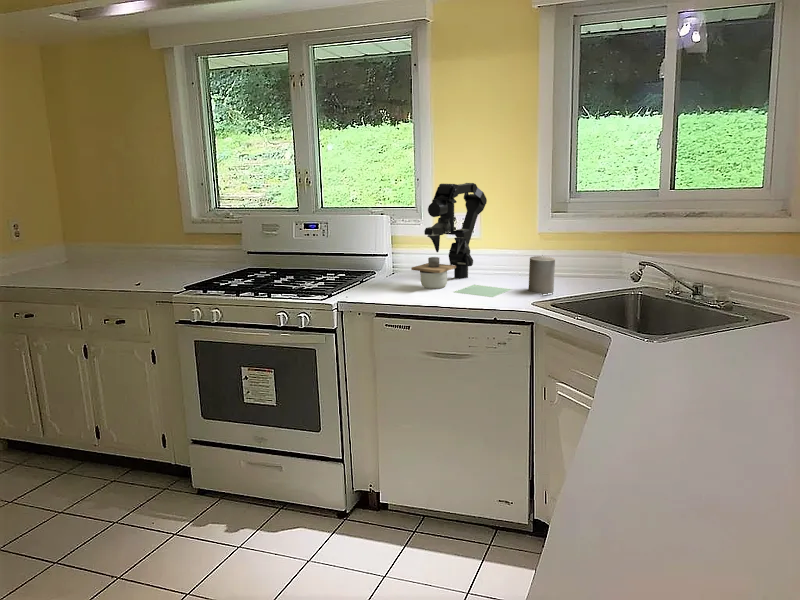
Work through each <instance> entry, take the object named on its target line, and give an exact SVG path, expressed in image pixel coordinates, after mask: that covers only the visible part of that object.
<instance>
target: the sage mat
mask: <svg viewBox="0 0 800 600" xmlns="http://www.w3.org/2000/svg"><path fill="white" fill-rule="evenodd" d="M512 290H513V288H507V287H506V288H505V287H497V286H488V285H480V284H472V285H470V286H467V287H463V288H460V289H458V290H456V291H454V293H456V294H462V295H463V294H464V295H470V296H471V295H472V296H479V297H489V298H494V297H496V296H499V295H502V294H504V293H507V292H509V291H512Z"/></svg>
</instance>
